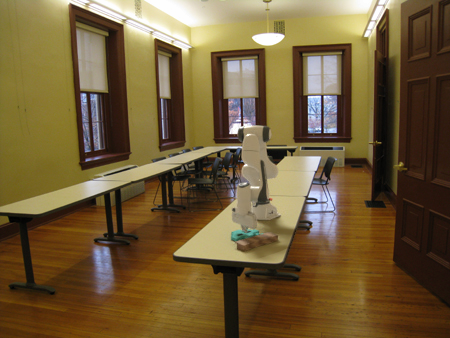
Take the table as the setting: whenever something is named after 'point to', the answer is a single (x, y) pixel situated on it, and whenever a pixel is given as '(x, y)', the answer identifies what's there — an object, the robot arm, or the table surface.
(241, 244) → the laid plank
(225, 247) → the table surface
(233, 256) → the table surface
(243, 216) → the robot arm
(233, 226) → the table surface
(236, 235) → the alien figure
